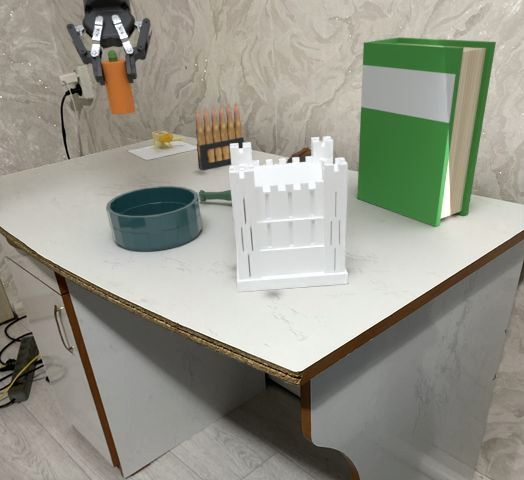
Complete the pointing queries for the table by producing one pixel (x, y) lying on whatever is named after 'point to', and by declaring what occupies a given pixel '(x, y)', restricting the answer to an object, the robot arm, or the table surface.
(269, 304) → the table surface
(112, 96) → the carrot toy
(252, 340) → the table surface
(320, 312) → the table surface
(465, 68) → the hardback book
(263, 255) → the castle model
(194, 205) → the bowl
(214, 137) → the ammunition clip
